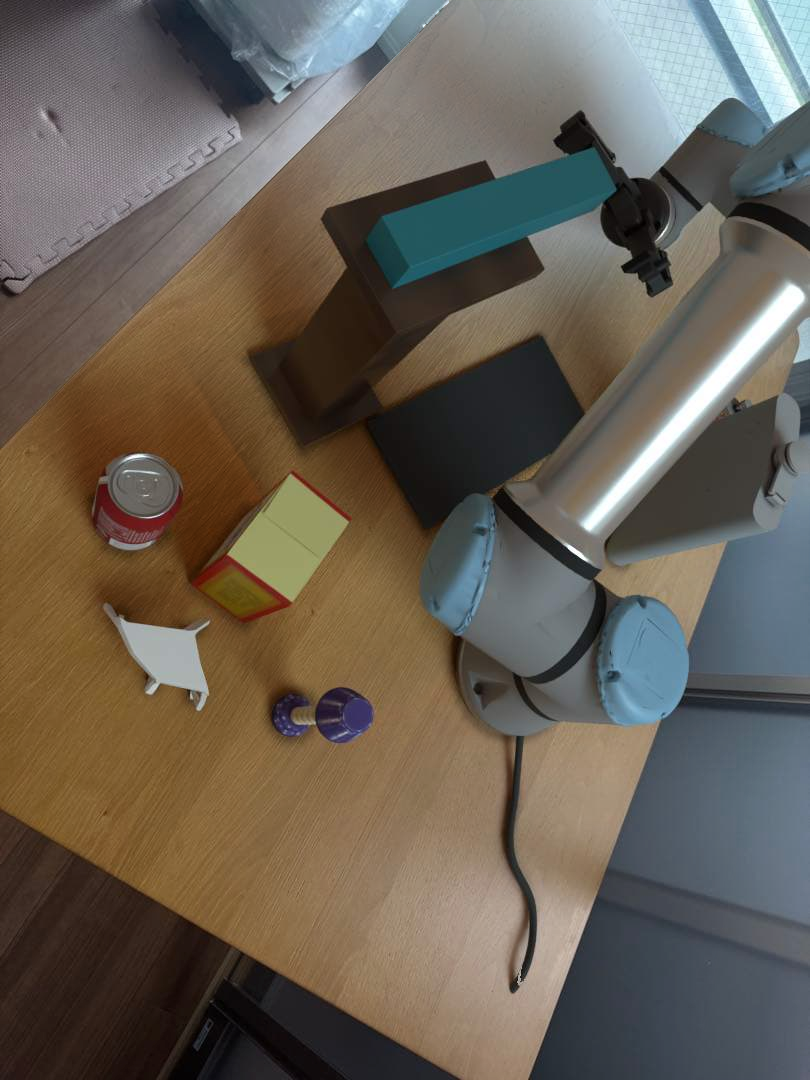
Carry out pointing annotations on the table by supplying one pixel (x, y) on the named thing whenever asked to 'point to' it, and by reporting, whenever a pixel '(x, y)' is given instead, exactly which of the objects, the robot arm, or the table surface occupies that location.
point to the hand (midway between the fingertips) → (601, 197)
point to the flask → (719, 485)
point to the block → (487, 216)
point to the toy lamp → (324, 715)
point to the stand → (378, 312)
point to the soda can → (136, 500)
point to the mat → (477, 429)
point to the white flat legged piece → (165, 654)
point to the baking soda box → (272, 550)
